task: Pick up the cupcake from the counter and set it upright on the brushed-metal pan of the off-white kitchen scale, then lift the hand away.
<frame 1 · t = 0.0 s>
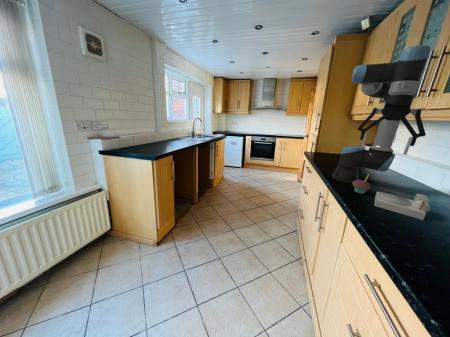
hand: (382, 151, 74), 28 cm above the worktop, fingers open, 13 cm apart
cupcake: (358, 192, 106), on the worktop
scale: (396, 206, 91), on the worktop
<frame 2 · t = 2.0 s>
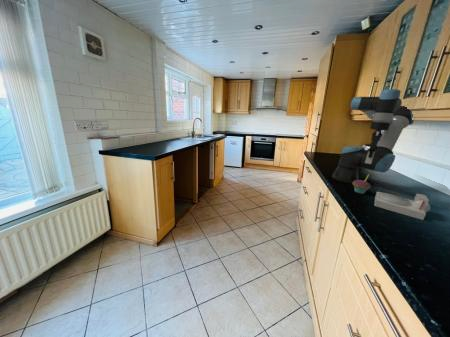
hand: (368, 161, 101), 18 cm above the worktop, fingers open, 13 cm apart
nothing on the worktop moved.
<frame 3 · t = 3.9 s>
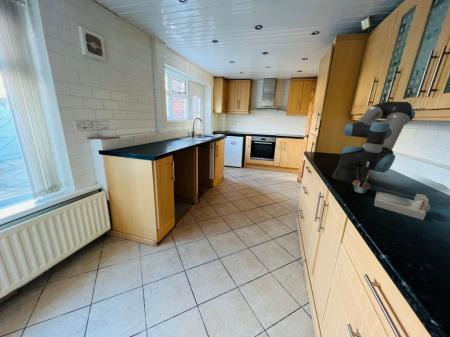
hand: (359, 189, 106), 1 cm above the worktop, fingers closed on cupcake, 8 cm apart
cupcake: (358, 192, 106), on the worktop, touching gripper
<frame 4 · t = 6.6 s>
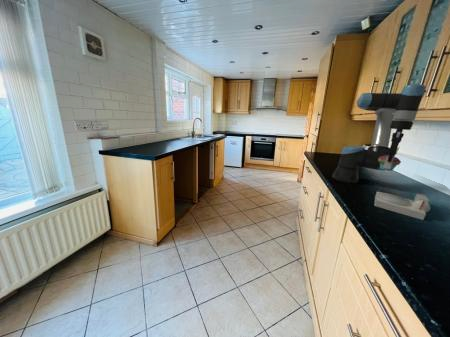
hand: (386, 167, 92), 18 cm above the worktop, fingers closed on cupcake, 8 cm apart
cupcake: (385, 169, 92), point 17 cm above the worktop, touching gripper
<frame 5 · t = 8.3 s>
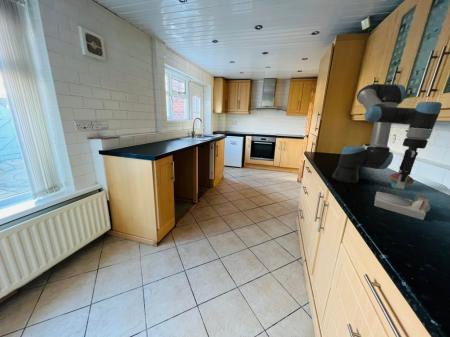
hand: (398, 185, 88), 11 cm above the worktop, fingers closed on cupcake, 8 cm apart
cupcake: (397, 188, 89), point 9 cm above the worktop, touching gripper
when the fingers open (7 cm above the worktop, at t = 9.5 s): cupcake drops 1 cm, resting on scale.
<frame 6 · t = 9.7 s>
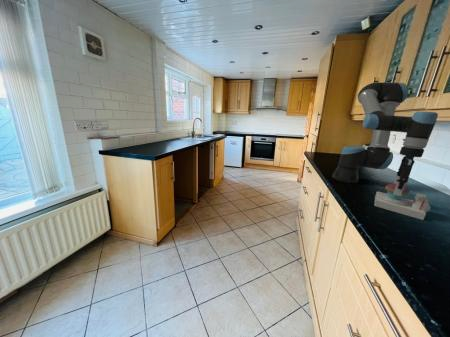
hand: (396, 191, 90), 7 cm above the worktop, fingers open, 10 cm apart
cupcake: (393, 198, 91), point 4 cm above the worktop, touching scale
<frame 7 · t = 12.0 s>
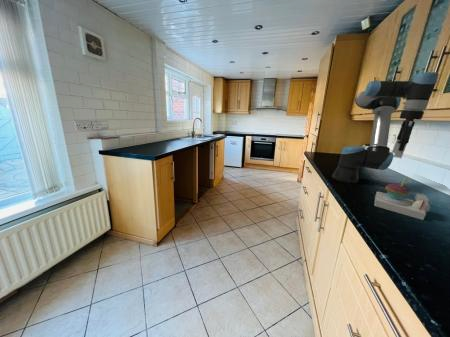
hand: (396, 155, 91), 24 cm above the worktop, fingers open, 13 cm apart
nothing on the worktop moved.
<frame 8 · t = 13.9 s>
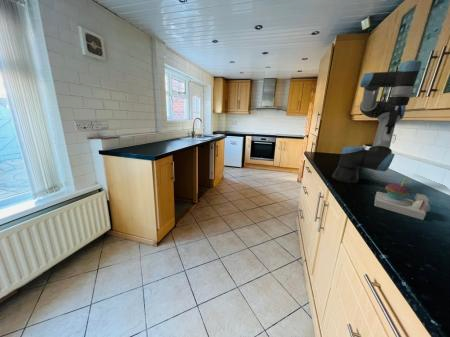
hand: (385, 139, 96), 31 cm above the worktop, fingers open, 13 cm apart
nothing on the worktop moved.
at the end: cupcake inside the target area on the scale (0.1 cm from its centre), point 3.8 cm above the scale's base; cupcake tilted 0°; the gripper is holding nothing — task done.
